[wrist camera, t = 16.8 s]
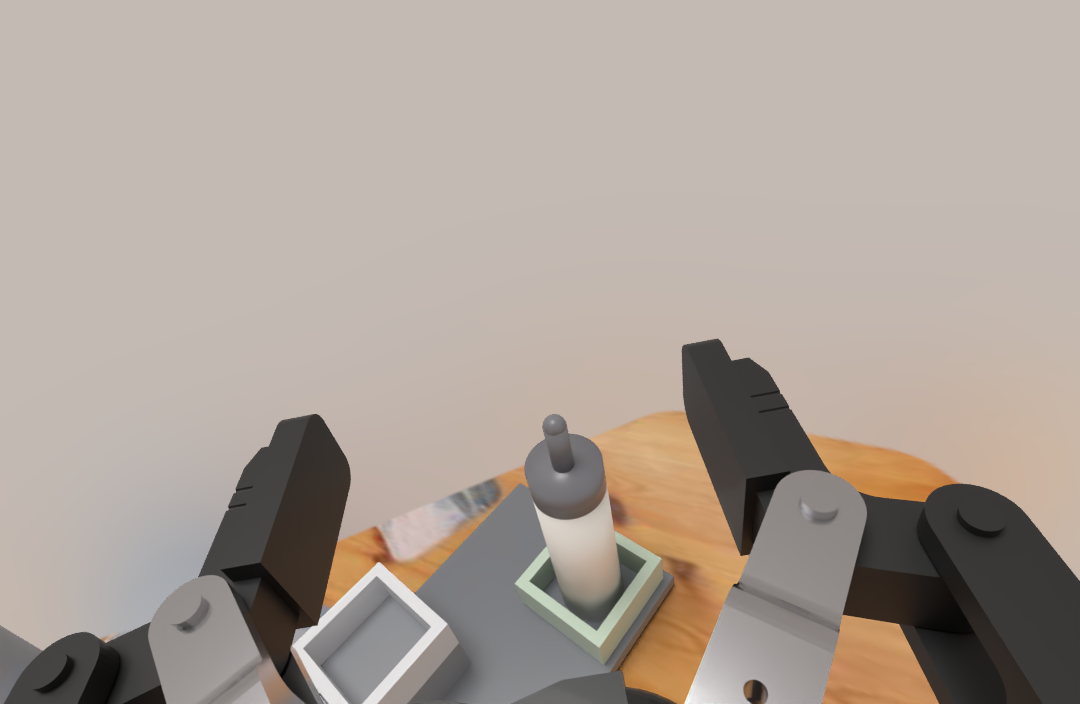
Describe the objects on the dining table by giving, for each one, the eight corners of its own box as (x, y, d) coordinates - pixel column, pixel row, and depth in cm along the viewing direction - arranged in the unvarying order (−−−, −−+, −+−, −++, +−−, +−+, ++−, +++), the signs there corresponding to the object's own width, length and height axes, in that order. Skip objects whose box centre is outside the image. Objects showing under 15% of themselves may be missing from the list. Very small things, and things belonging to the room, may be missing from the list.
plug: (600, 634, 37) (559, 466, 26) (550, 598, 39) (493, 429, 28) (635, 583, 39) (612, 407, 28) (586, 552, 41) (546, 377, 30)
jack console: (472, 887, 29) (435, 861, 25) (325, 699, 38) (279, 658, 34) (674, 583, 40) (670, 530, 36) (522, 490, 48) (505, 439, 44)
